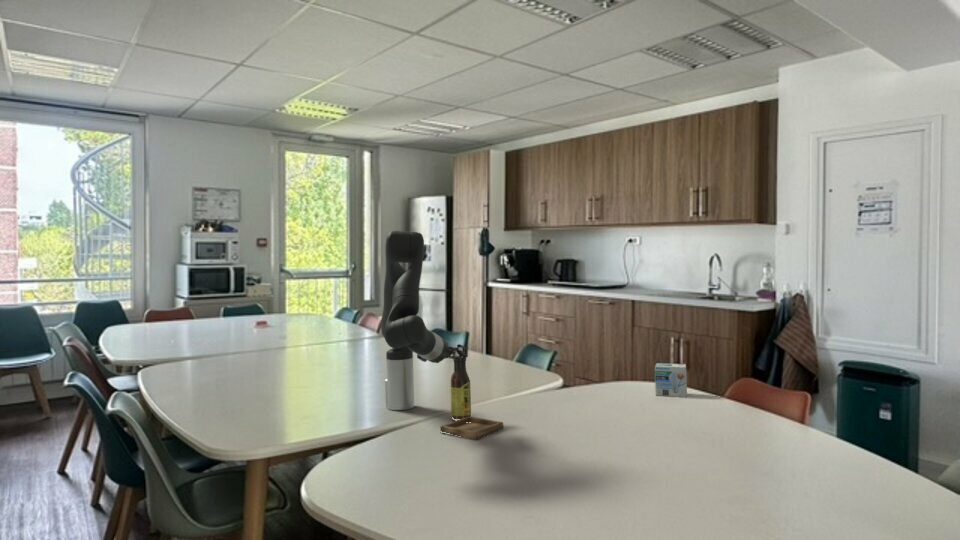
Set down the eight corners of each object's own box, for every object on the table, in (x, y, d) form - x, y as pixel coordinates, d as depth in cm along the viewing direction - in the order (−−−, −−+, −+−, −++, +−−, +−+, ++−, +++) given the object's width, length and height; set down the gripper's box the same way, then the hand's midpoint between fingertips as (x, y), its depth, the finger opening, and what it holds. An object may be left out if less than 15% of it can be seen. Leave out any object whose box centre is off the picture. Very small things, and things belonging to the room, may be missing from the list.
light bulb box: (655, 395, 199) (654, 365, 199) (656, 392, 205) (655, 362, 206) (686, 397, 195) (685, 366, 195) (687, 393, 201) (686, 363, 202)
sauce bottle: (468, 422, 171) (466, 358, 171) (449, 422, 172) (447, 358, 172) (473, 417, 177) (471, 355, 178) (454, 416, 179) (452, 355, 179)
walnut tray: (440, 433, 160) (440, 426, 160) (468, 423, 170) (468, 416, 170) (475, 440, 152) (475, 433, 152) (503, 429, 162) (502, 422, 163)
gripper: (454, 330, 154) (472, 344, 169) (407, 336, 158) (429, 348, 172) (454, 357, 151) (473, 368, 166) (406, 362, 155) (429, 372, 170)
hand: (450, 358), depth 169 cm, fingers open, 8 cm apart
